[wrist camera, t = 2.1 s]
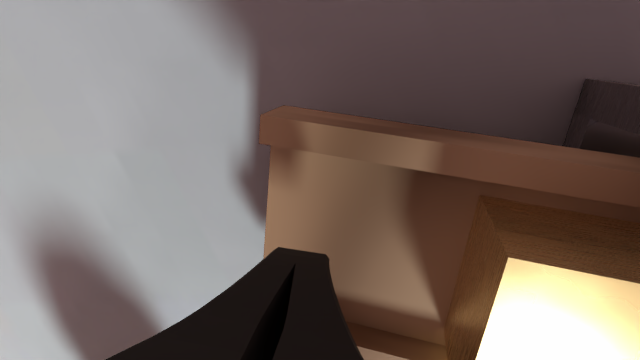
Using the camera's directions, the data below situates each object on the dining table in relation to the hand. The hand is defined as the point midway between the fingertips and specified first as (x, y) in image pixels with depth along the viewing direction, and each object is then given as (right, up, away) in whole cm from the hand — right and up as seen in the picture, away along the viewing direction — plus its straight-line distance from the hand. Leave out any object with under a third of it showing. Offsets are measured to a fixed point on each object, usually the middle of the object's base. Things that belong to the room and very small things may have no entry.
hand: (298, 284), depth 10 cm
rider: (+7, 0, +1) cm, 7 cm away
